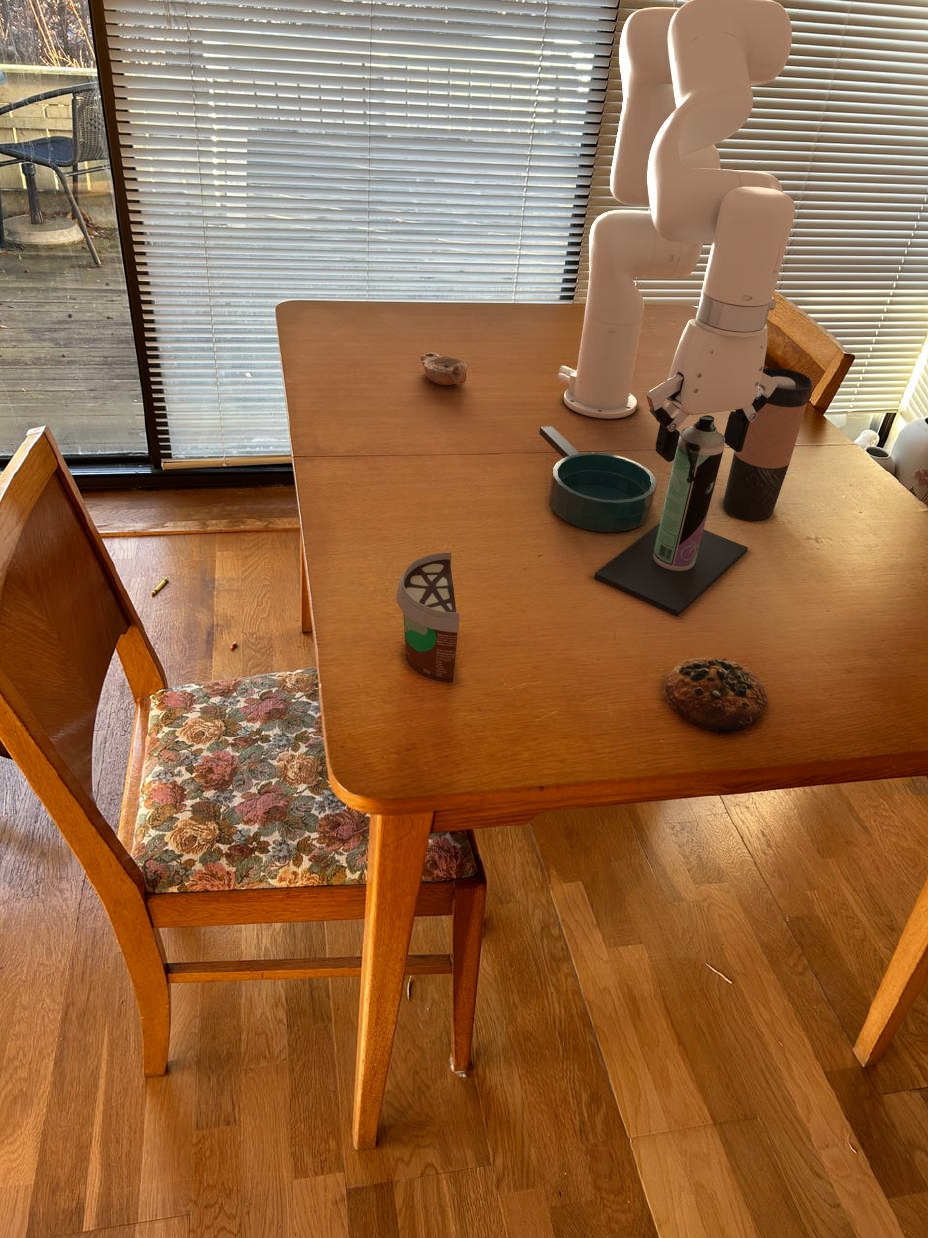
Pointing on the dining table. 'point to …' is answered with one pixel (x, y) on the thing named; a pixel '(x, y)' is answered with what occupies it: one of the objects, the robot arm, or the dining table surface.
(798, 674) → the dining table surface
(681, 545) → the spray can
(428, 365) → the oil lamp
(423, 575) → the food container
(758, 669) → the dining table surface
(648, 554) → the mat
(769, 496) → the travel mug
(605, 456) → the pan
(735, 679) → the bread roll
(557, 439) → the pan handle
